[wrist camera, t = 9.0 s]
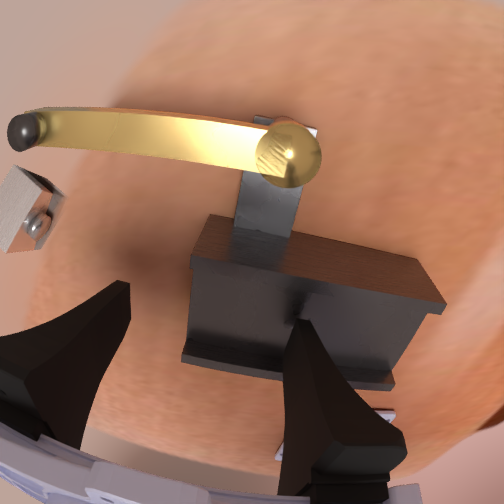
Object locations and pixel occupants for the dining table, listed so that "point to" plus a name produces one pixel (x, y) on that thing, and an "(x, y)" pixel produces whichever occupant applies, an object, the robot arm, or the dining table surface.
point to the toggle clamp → (298, 292)
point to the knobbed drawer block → (27, 210)
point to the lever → (175, 139)
